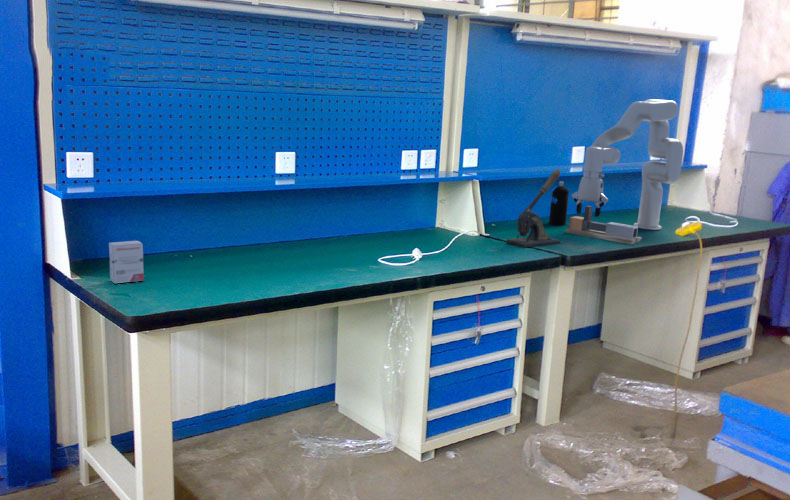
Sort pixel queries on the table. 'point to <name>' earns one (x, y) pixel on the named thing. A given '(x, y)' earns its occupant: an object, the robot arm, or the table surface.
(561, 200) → the aerosol can
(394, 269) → the table surface
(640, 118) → the robot arm
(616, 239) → the base board
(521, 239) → the embossing press
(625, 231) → the pale blue rectangular box
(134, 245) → the ink box
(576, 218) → the socket
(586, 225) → the grey bar
